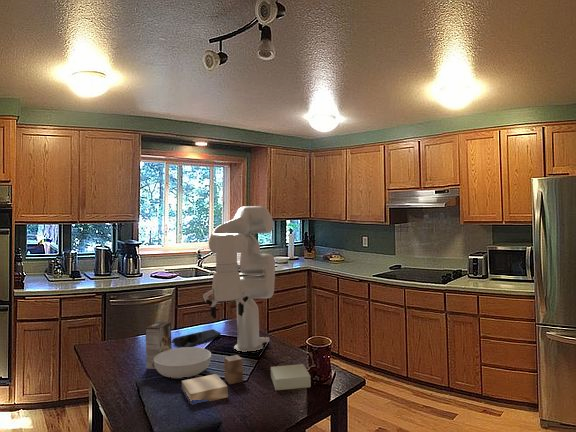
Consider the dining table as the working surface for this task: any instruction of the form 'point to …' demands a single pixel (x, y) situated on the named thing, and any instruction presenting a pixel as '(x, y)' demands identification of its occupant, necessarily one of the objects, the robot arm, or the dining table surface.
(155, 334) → the coffee box
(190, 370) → the serving bowl
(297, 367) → the sage riser block
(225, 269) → the robot arm
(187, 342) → the dark slate chunk
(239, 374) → the walnut block
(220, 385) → the maple riser block
